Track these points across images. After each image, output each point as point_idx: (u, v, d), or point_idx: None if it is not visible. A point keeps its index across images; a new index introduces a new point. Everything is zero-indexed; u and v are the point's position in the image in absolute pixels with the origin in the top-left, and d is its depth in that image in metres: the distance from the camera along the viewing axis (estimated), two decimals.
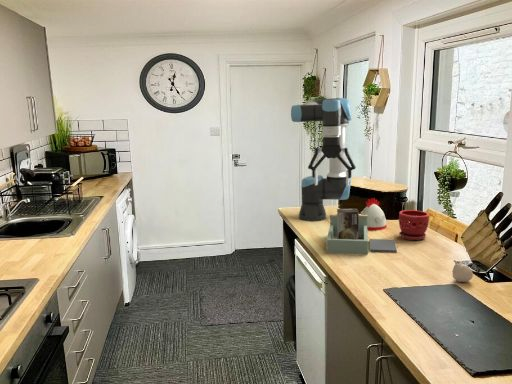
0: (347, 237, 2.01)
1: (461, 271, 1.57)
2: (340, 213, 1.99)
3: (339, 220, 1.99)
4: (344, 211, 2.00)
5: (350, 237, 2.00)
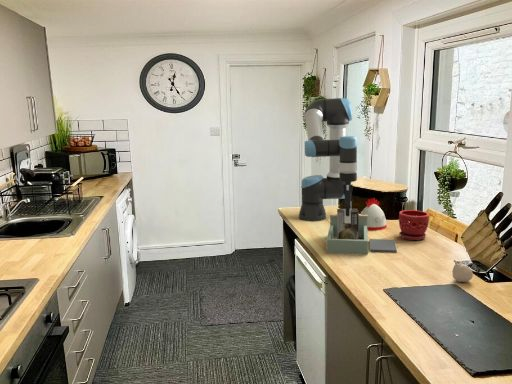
0: (347, 237, 2.01)
1: (461, 271, 1.57)
2: (340, 213, 1.99)
3: (339, 220, 1.99)
4: None
5: (350, 237, 2.00)
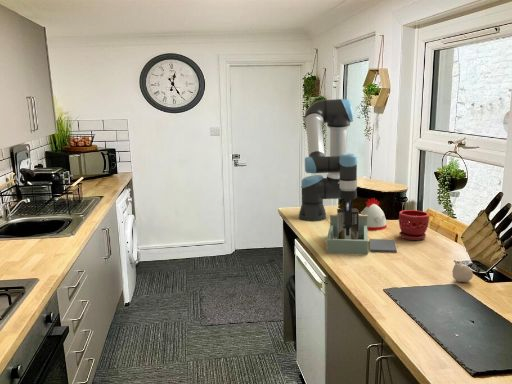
0: None
1: (461, 271, 1.57)
2: (340, 213, 1.99)
3: (339, 220, 1.99)
4: None
5: None
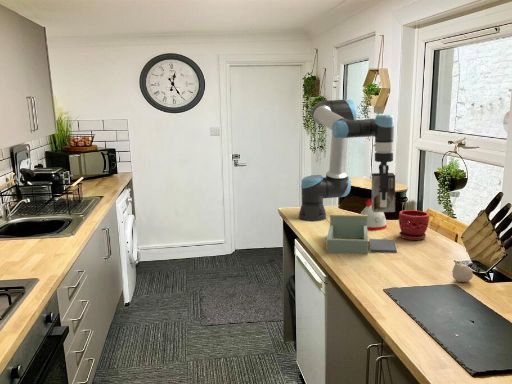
0: None
1: (461, 271, 1.57)
2: (376, 177, 1.91)
3: (375, 184, 1.92)
4: None
5: None
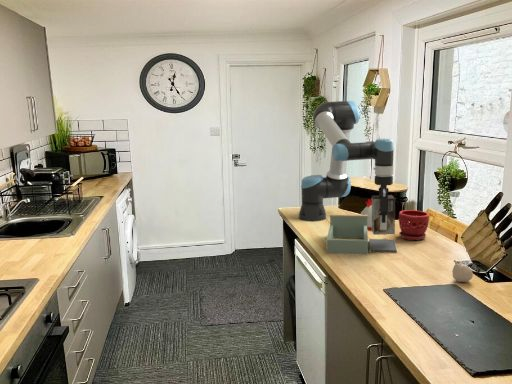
0: None
1: (461, 271, 1.57)
2: (376, 200, 1.93)
3: (375, 207, 1.94)
4: None
5: None
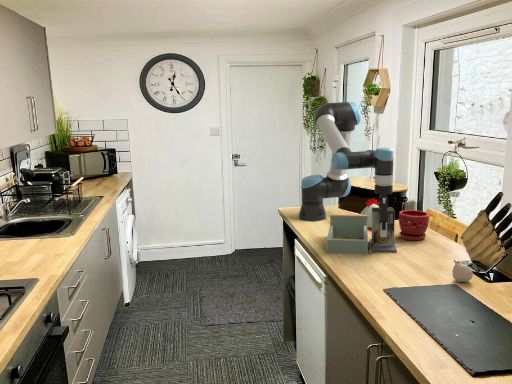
0: (382, 237, 1.96)
1: (461, 271, 1.57)
2: (375, 212, 1.94)
3: (374, 219, 1.95)
4: (379, 210, 1.95)
5: (385, 237, 1.96)
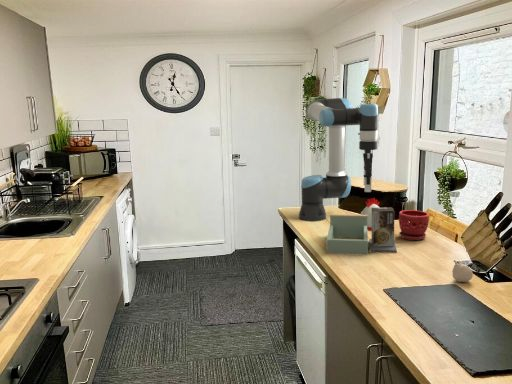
0: (382, 236, 1.96)
1: (461, 271, 1.57)
2: (375, 212, 1.94)
3: (374, 219, 1.95)
4: (379, 210, 1.95)
5: (385, 236, 1.96)
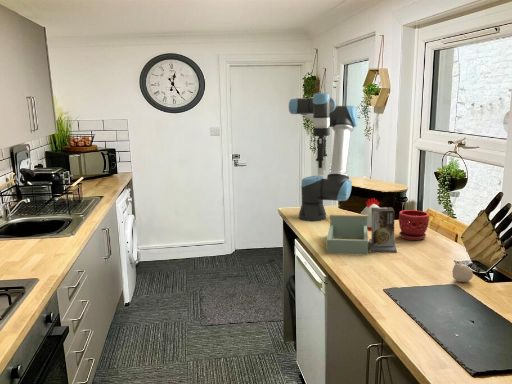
0: (382, 236, 1.96)
1: (461, 271, 1.57)
2: (375, 212, 1.94)
3: (374, 219, 1.95)
4: (379, 210, 1.95)
5: (385, 236, 1.96)
